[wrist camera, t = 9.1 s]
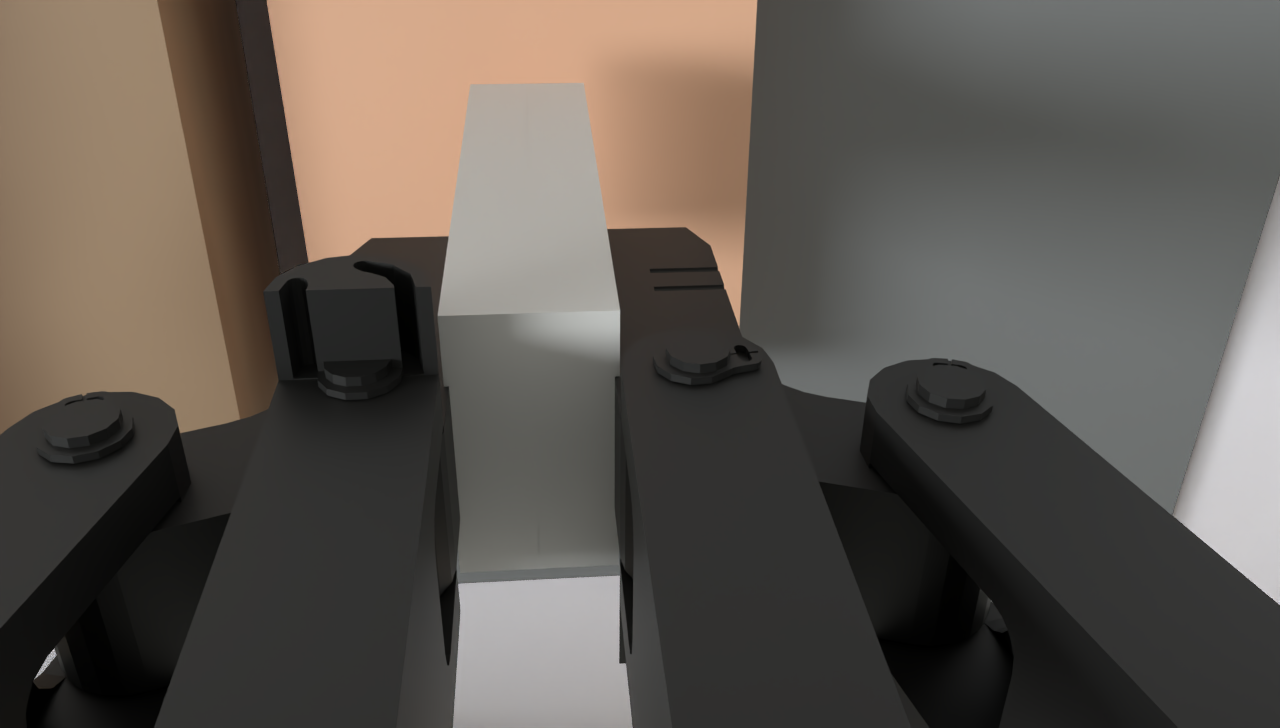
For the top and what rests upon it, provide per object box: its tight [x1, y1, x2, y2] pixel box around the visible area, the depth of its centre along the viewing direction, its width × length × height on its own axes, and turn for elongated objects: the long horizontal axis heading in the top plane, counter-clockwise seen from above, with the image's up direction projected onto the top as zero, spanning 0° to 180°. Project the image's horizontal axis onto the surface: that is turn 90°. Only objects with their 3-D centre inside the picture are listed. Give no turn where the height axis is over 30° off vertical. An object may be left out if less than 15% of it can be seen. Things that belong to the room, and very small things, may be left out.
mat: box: [456, 0, 1280, 583], centre depth 20 cm, size 18×22×1 cm
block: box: [267, 0, 757, 326], centre depth 18 cm, size 7×10×2 cm
